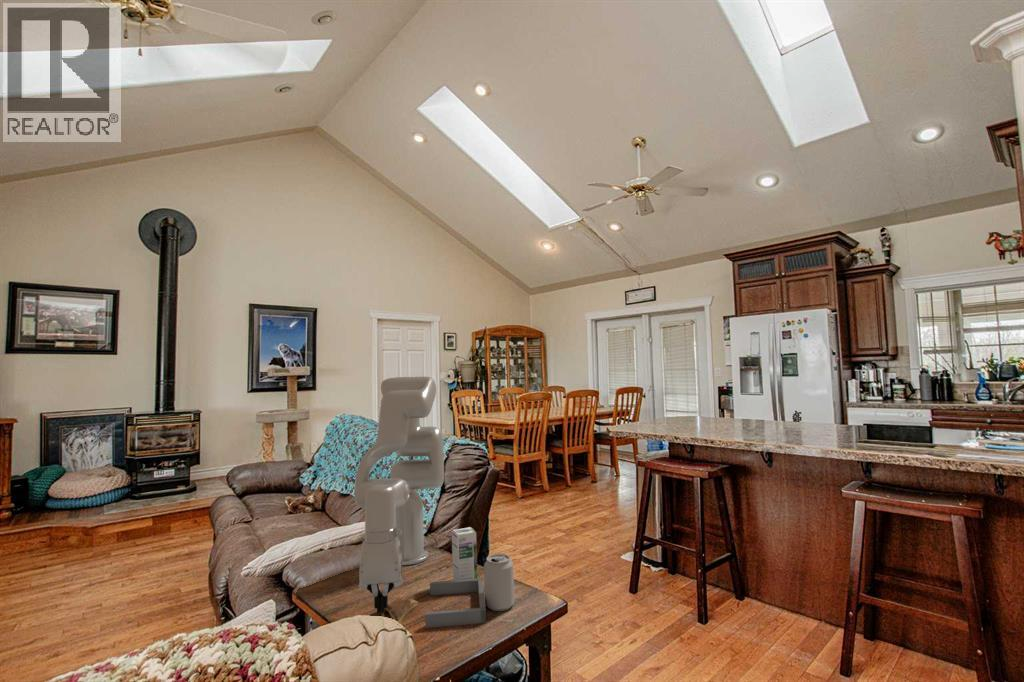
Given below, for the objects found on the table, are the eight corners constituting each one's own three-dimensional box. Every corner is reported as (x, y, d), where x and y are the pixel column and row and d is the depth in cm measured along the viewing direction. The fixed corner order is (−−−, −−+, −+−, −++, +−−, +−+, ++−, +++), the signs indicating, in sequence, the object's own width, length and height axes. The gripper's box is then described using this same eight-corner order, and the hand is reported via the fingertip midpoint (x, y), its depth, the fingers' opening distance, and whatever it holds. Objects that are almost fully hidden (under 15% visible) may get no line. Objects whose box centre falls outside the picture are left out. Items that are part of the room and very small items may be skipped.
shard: (397, 627, 115) (397, 619, 115) (369, 623, 117) (369, 616, 117) (419, 606, 125) (419, 599, 125) (393, 603, 127) (393, 596, 127)
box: (430, 593, 131) (430, 582, 132) (482, 589, 133) (482, 578, 133) (425, 628, 113) (425, 614, 113) (486, 622, 115) (485, 609, 115)
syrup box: (458, 588, 134) (457, 534, 136) (452, 580, 140) (451, 528, 141) (477, 584, 137) (476, 531, 138) (471, 576, 142) (470, 525, 143)
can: (481, 602, 125) (479, 555, 126) (507, 596, 128) (506, 550, 129) (491, 615, 118) (489, 564, 119) (519, 608, 121) (517, 559, 122)
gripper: (412, 529, 127) (413, 601, 125) (353, 532, 125) (353, 606, 124) (408, 538, 119) (409, 615, 118) (346, 542, 118) (346, 620, 116)
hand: (381, 610), depth 121 cm, fingers closed
